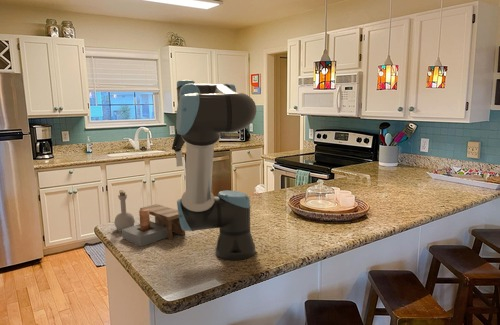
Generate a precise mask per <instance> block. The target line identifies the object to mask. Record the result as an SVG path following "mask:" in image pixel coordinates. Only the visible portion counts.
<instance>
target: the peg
mask: <svg viewBox="0 0 500 325" xmlns="http://www.w3.org/2000/svg"><path fill="white" fill-rule="evenodd" d="M138 215H139V224H140V230H141V231H143V232H145V231H148V230H150V221H151V220H150V217H151V216H150V214H149V209H142V210H140V209H139V210H138Z"/></svg>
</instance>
